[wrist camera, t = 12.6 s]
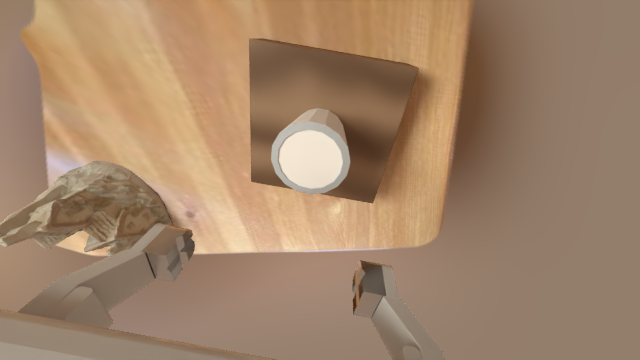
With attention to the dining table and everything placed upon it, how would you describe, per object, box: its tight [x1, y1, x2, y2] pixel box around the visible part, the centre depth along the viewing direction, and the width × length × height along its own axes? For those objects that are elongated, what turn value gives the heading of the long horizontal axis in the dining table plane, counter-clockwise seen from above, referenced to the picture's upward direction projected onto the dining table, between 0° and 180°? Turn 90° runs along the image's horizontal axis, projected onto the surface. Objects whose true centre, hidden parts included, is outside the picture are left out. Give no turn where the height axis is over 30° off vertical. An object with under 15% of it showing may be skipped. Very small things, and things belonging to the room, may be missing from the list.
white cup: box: [271, 108, 350, 194], centre depth 23 cm, size 7×7×7 cm
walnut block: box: [249, 39, 419, 203], centre depth 28 cm, size 16×16×5 cm
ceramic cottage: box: [0, 161, 172, 256], centre depth 35 cm, size 16×16×15 cm
